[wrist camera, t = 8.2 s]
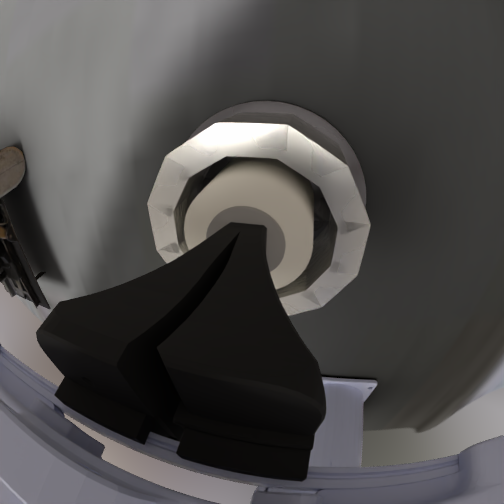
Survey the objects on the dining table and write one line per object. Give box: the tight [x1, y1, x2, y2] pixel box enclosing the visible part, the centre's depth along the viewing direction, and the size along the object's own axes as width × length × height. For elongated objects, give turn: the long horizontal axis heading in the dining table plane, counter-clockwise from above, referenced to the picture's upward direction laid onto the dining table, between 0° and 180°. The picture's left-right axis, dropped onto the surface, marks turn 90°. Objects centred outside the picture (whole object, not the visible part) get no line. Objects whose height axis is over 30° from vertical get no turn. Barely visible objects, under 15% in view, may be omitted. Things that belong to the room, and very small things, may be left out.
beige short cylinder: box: [184, 157, 314, 289], centre depth 12 cm, size 5×5×4 cm
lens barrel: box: [147, 100, 371, 316], centre depth 13 cm, size 10×10×4 cm
